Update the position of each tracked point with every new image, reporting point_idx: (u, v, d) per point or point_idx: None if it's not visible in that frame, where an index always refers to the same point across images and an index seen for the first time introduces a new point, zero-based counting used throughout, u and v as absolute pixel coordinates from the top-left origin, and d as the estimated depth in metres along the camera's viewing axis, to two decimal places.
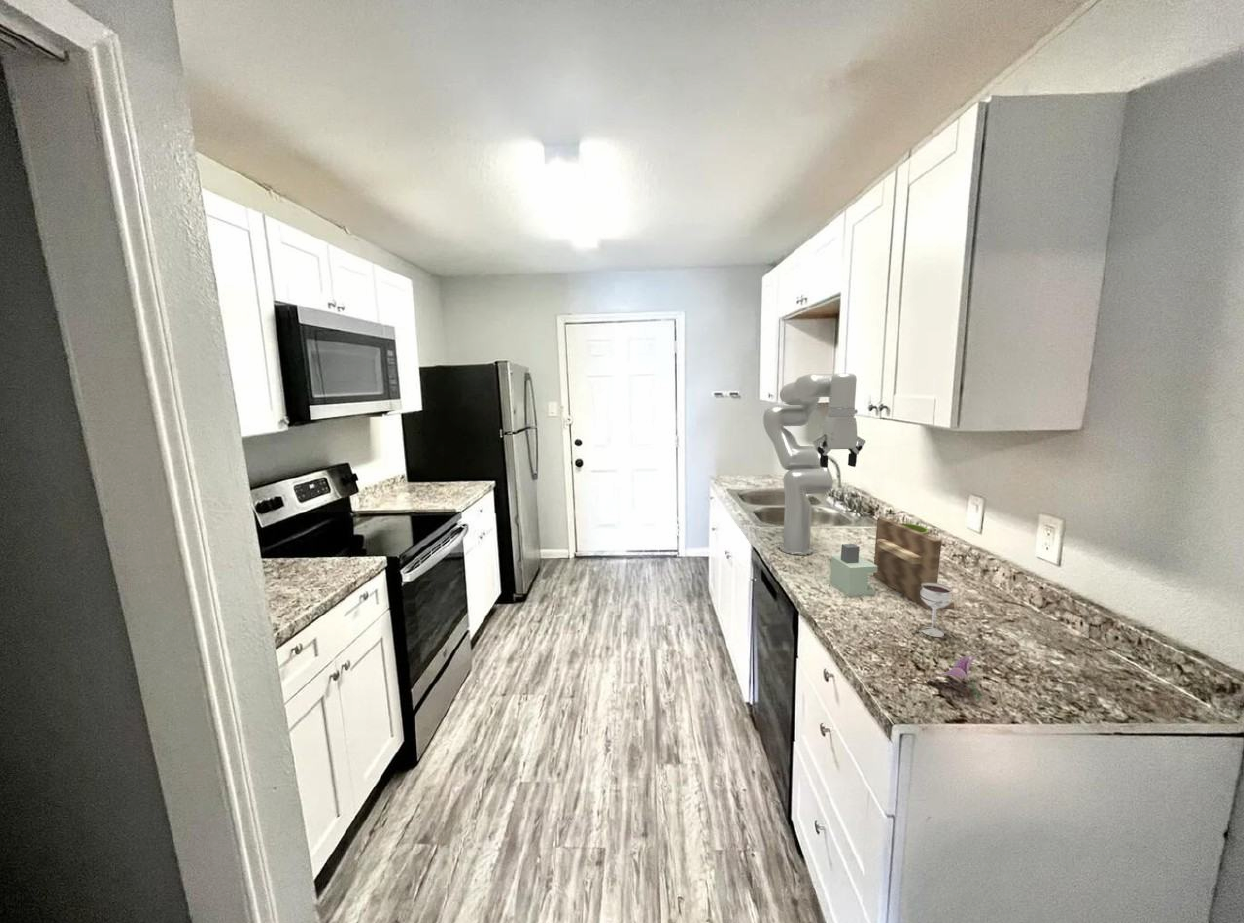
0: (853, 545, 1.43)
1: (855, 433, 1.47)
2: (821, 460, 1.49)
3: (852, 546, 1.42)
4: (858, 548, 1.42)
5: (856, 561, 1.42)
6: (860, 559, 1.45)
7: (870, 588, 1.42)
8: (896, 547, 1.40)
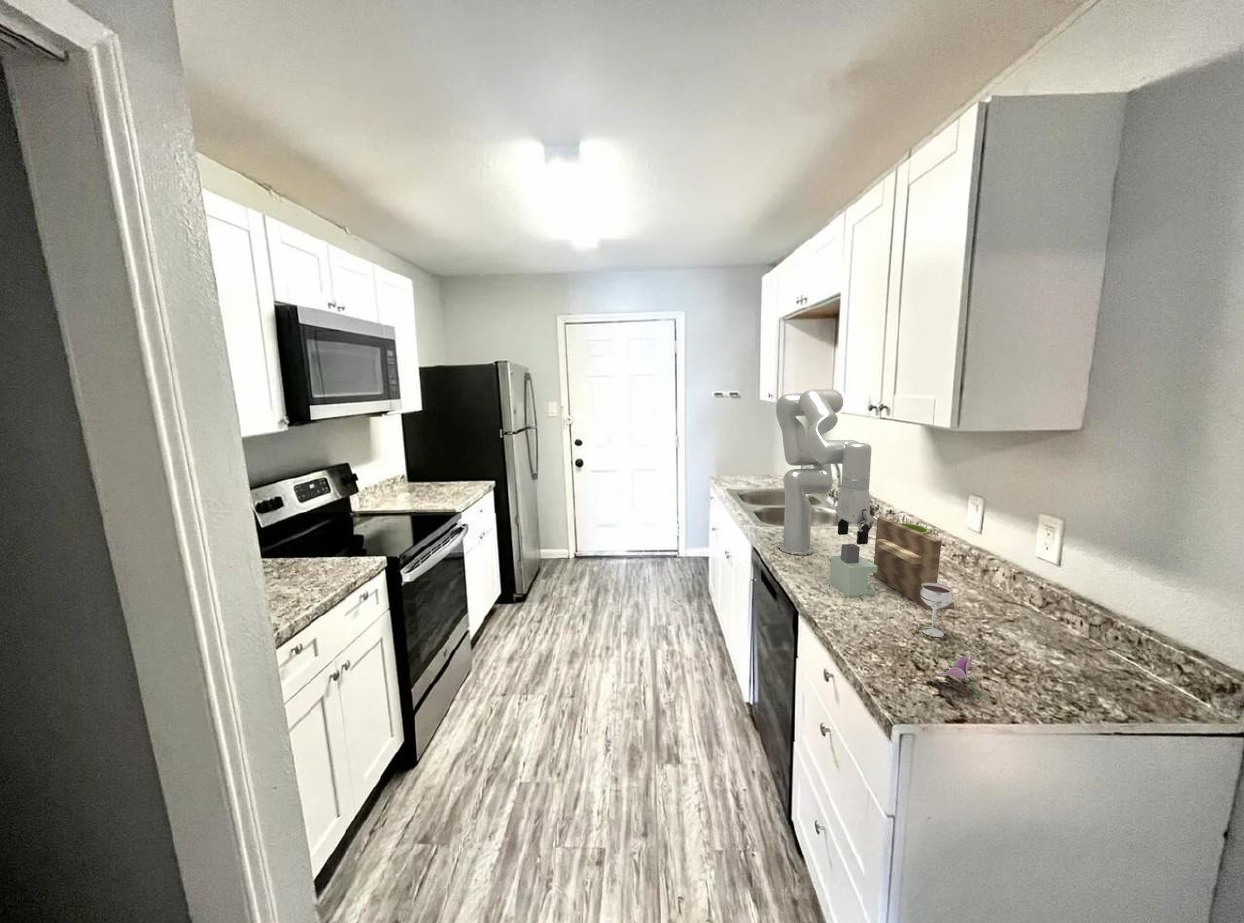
0: (853, 545, 1.43)
1: None
2: (864, 537, 1.36)
3: (852, 546, 1.42)
4: (858, 548, 1.42)
5: (856, 561, 1.42)
6: (860, 559, 1.45)
7: (870, 588, 1.42)
8: (896, 547, 1.40)
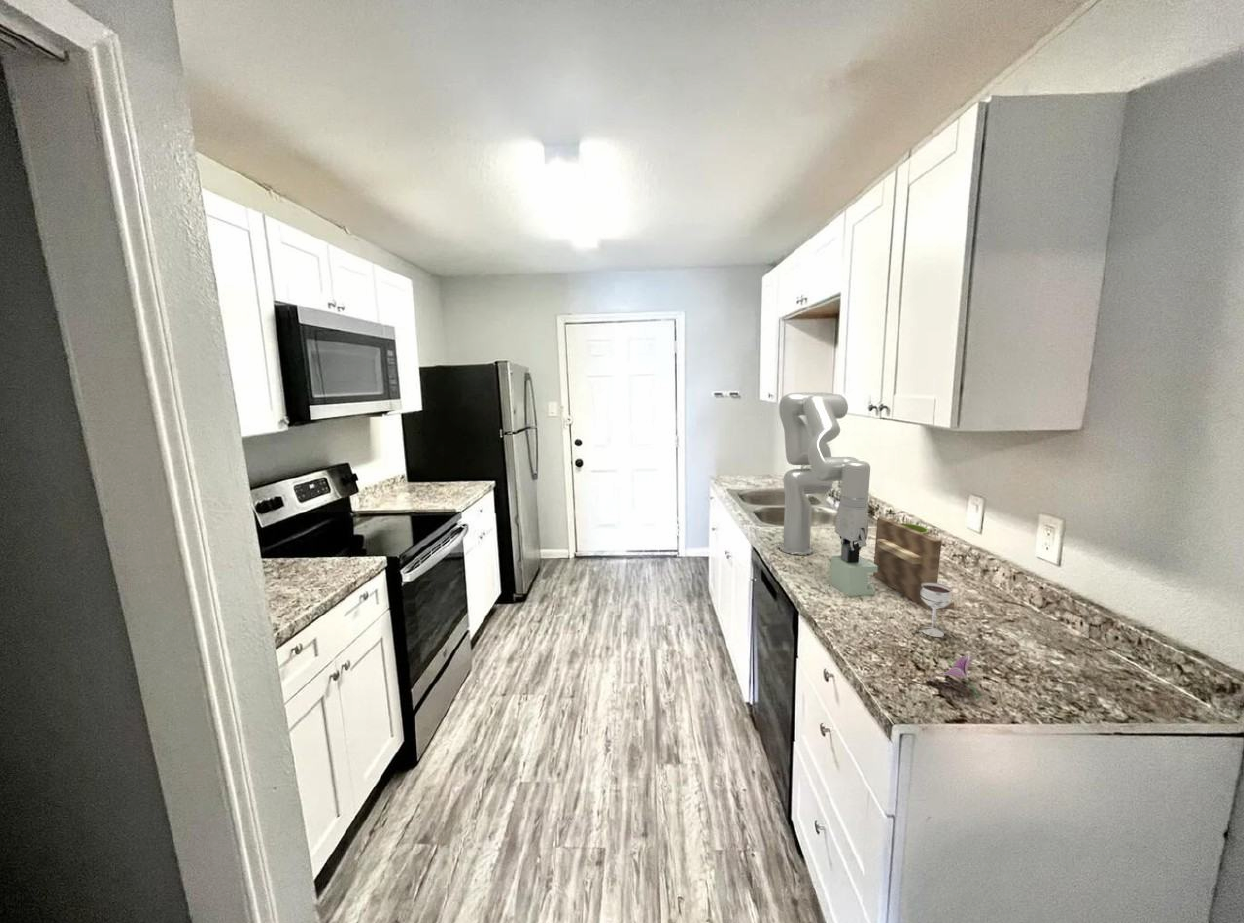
0: None
1: None
2: (855, 556, 1.40)
3: None
4: None
5: None
6: (860, 559, 1.45)
7: (870, 588, 1.42)
8: (896, 547, 1.40)
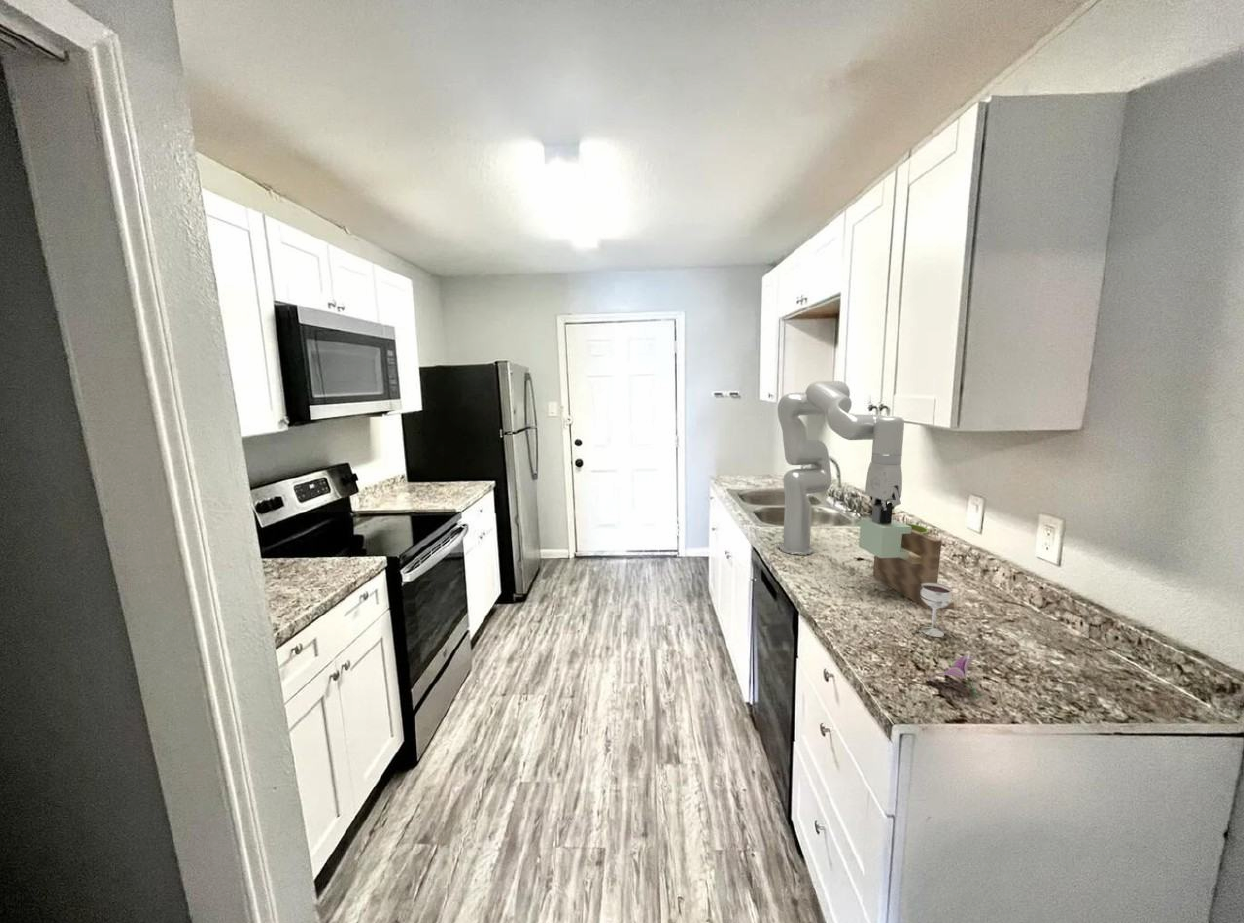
0: None
1: None
2: (888, 516, 1.34)
3: None
4: None
5: None
6: (892, 521, 1.39)
7: (902, 550, 1.35)
8: None
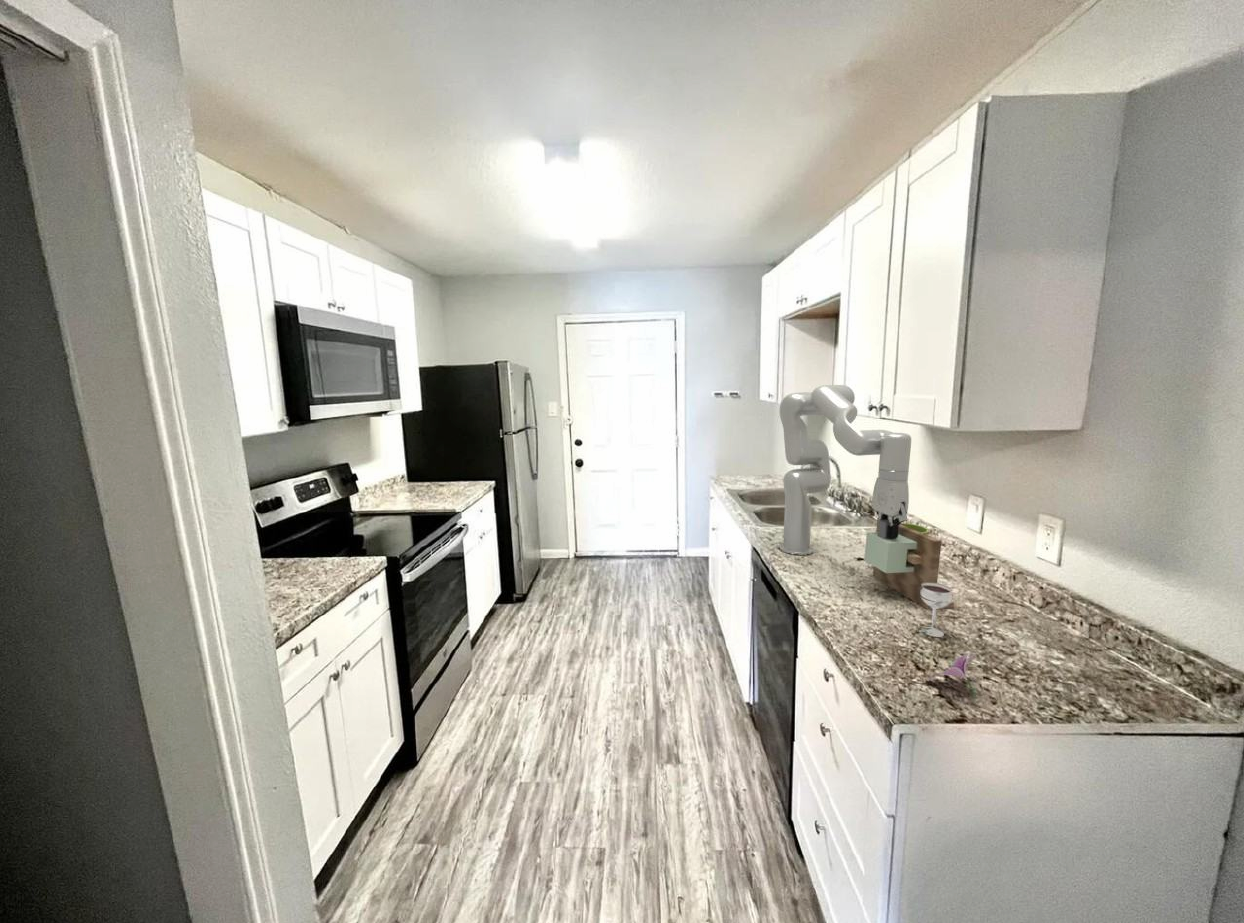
0: None
1: None
2: (894, 531, 1.35)
3: None
4: None
5: None
6: None
7: (908, 565, 1.36)
8: None
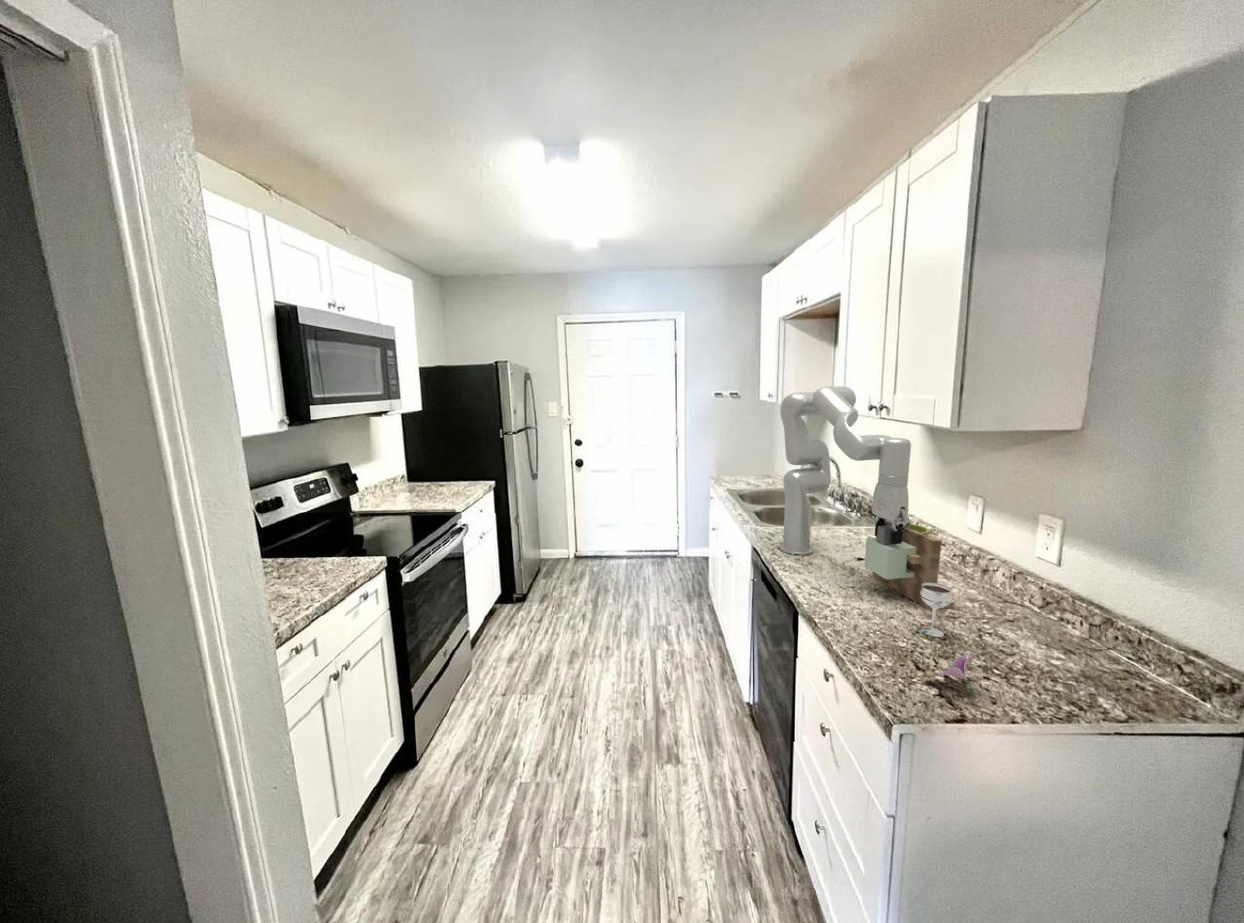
0: (890, 526, 1.38)
1: None
2: (898, 537, 1.34)
3: (889, 527, 1.37)
4: None
5: None
6: None
7: (908, 571, 1.37)
8: None
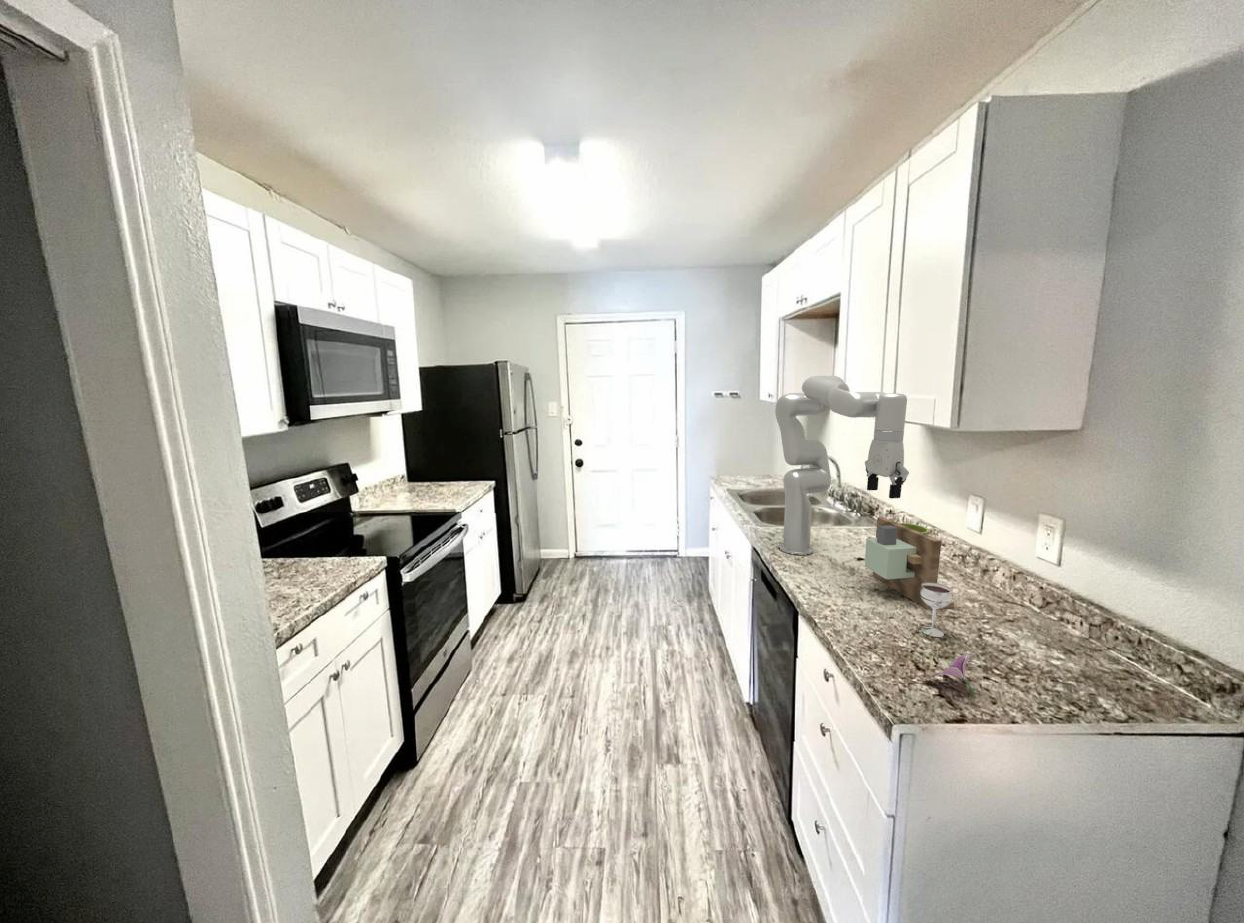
0: (890, 526, 1.38)
1: None
2: (897, 491, 1.32)
3: (889, 527, 1.37)
4: (896, 529, 1.37)
5: (893, 543, 1.37)
6: (897, 541, 1.40)
7: (908, 571, 1.37)
8: None
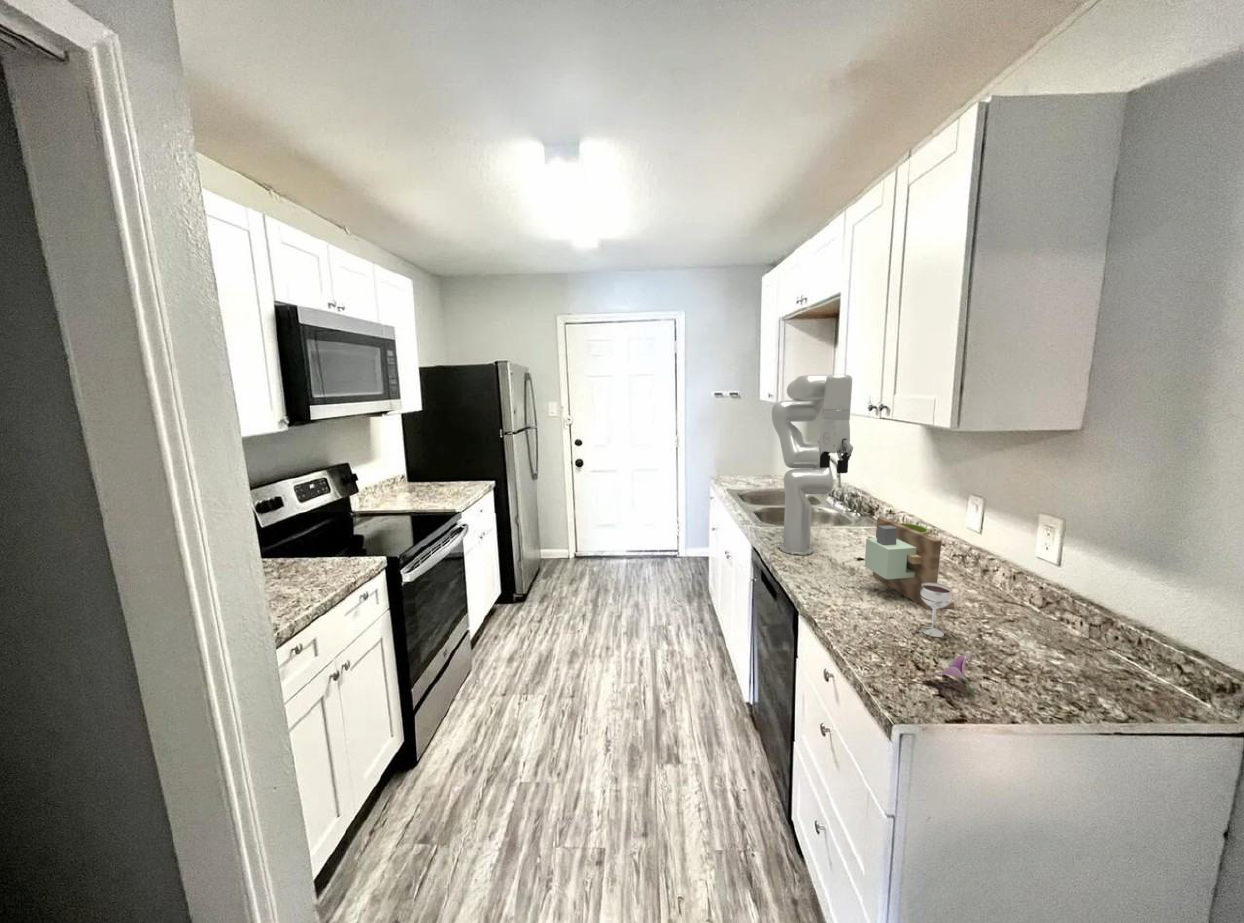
0: (890, 526, 1.38)
1: None
2: (844, 466, 1.40)
3: (889, 527, 1.37)
4: (896, 529, 1.37)
5: (893, 543, 1.37)
6: (897, 541, 1.40)
7: (908, 571, 1.37)
8: None
